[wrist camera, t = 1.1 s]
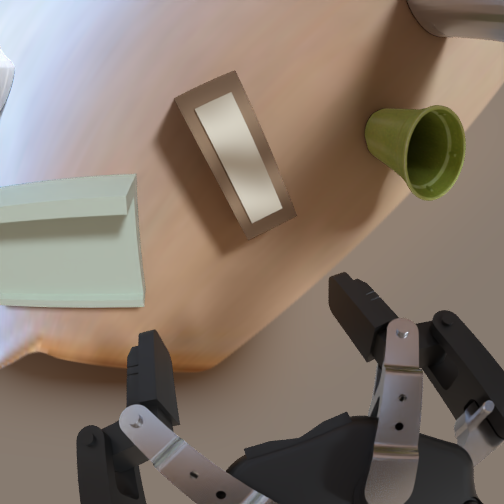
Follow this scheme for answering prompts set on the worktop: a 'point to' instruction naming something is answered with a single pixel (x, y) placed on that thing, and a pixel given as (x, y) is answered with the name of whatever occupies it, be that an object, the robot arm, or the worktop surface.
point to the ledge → (71, 243)
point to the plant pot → (419, 147)
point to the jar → (5, 77)
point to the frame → (237, 153)
